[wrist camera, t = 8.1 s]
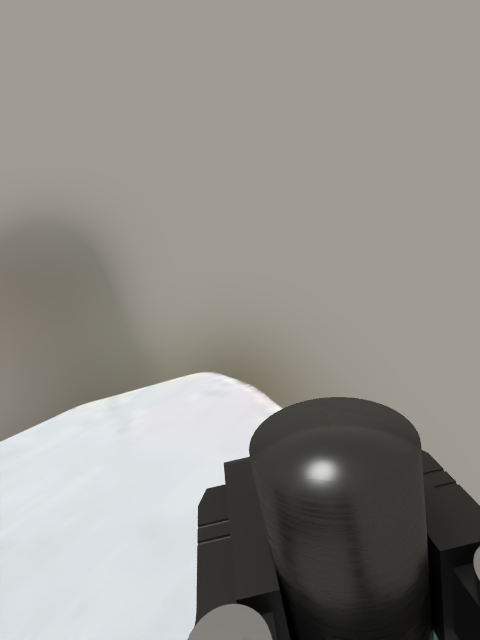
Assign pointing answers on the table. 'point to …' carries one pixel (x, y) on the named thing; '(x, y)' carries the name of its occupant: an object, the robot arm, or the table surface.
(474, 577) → the robot arm
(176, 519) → the table surface
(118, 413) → the table surface
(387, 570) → the board with post
